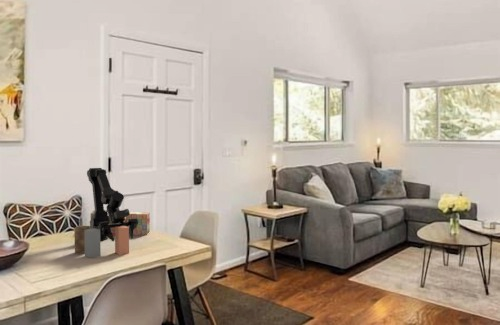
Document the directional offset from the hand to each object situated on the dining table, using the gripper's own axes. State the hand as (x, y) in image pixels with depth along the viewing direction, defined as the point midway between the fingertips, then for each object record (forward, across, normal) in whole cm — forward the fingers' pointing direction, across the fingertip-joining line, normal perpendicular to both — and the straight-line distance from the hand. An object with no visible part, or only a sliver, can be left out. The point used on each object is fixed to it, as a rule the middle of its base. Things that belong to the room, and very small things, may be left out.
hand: (123, 239), depth 208 cm
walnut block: (-5, -15, +14) cm, 21 cm away
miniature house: (-35, +9, +45) cm, 58 cm away
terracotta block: (+4, 0, +6) cm, 7 cm away
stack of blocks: (-23, +20, +33) cm, 45 cm away
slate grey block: (+2, -13, +7) cm, 15 cm away
